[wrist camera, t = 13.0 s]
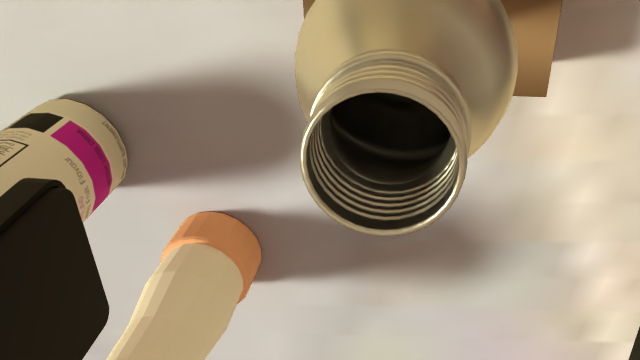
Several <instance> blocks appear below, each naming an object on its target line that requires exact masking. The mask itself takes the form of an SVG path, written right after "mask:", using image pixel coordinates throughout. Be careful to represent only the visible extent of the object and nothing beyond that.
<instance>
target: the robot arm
mask: <svg viewBox="0 0 640 360" xmlns="http://www.w3.org/2000/svg"><path fill="white" fill-rule="evenodd" d="M108 316H109V305H108V301H107V298H106V295H105V292H104V289H103V285H102V282H101V279H100V276H99V273H98V270H97V266H96V263H95V260H94V257H93V254H92V251H91V247H90V244H89V241H88V238H87V235H86V231H85V228H84V225H83V222H82V219H81V216H80V212H79V209H78V206H77V203H76V200H75V197H74V195H73V193H72V192H71V191H70V190H68V189H66V187H65V185H64V184H63V183H62V182H61V181H59V180H54V179H40V178H23V179H21V180H20V181H18V182H17V183H16V184H15V185H13V186H12V187H11V188H10V189H9V190H7V191H6V192H5V193H4V194H3V195H2V196H0V360H82V359H83V358H84V356H85V355H86V353H87V352H88V350H89V349H90V347H91V346H92V344H93V343H94V341H95V340H96V338H97V337H98V335H99V334H100V333H101V331H102V330H103V328H104V326H105V325H106V323H107V320H108ZM629 360H640V327H639V330H638V333H637V336H636V339H635V342H634V345H633V348H632V351H631V354H630V357H629Z"/></svg>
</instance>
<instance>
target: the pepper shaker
mask: <svg viewBox="0 0 640 360" xmlns="http://www.w3.org/2000/svg"><path fill="white" fill-rule="evenodd" d="M260 263H261V248H260V245H259V243H258V240H257V238H256V237H255V236H254V234H253V233H252V232H251V230H250V229H249V228H248V227H247V226H245V225H244V224H243V223H241V222H240V221H239V220H237V219H235V218H233V217H230V216H228V215H226V214H222V213H217V212H202V213H197V214H195V215H193V216H190V217H188V218H187V219H186V220H185V221H184V222H183V223H182V225H181V226H180V227H179V229H178V230H177V231H176V233H175V234H174V236H173V237H172V239H171V240H170V242H169V243H168V245H167V246H166V247H165V249H164V251H163V254H162V257H161V264H160V265H159V266H158V268H157V269H156V271H155V272H154V273H153V275H152V276H151V277H150V279H149V280H148V282H147V283H146V285H145V287H144V289H143V292H142V294H141V296H140V299H139V301H138V303H137V306H136V308H135V311H134V313H133V315H132V318H131V320H130V322H129V325H128V327H127V328H126V330H125V331H124V333H123V334H122V336H121V338H120V339H119V341H118V342H117V344H116V345H115V347H114V348H113V350H112V352H111V353H110V355H109V356H108V358H107V359H106V360H205V358H206V357H207V355H208V354H209V353H210V351H211V350H212V348H213V347H214V346H215V344H216V343H217V341H218V340H219V339H220V337H221V336H222V334H223V333H224V332H225V330H226V328H227V326H228V324H229V322H230V319H231V317H232V314H233V312H234V310H235V307H236V305H237V304H238V303H239V302H240V301H242V300H243V299H244V298H245V297H246V294H247V292H248V290H249V288H250V286H251V283H252V281H253V279H254V277H255V274H256V272H257V270H258V268H259V265H260Z"/></svg>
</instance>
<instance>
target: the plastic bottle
mask: <svg viewBox="0 0 640 360" xmlns="http://www.w3.org/2000/svg"><path fill="white" fill-rule="evenodd" d="M517 73H518V47H517V43H516V38H515V34H514V29H513V25H512V23H511V21H510V19H509V17H508V15H507V13H506V10H505V8H504V6H503V4H502V3H501V1H500V0H315V2H314V3H313V5H312V6H311V8H310V9H309V11H308V12H307V14H306V17H305V19H304V22H303V24H302V27H301V29H300V32H299V36H298V41H297V47H296V52H295V77H296V87H297V92H298V97H299V102H300V106H301V108H302V111H303V113H304V115H305V118H306V120H307V125H306V128H305V130H304V132H303V137H302V142H301V149H300V167H301V171H302V176H303V180H304V182H305V184H306V187H307V189H308V191H309V193H310V195H311V196H312V198H313V199H314V200H315V202H316V203H317V205H318V206H319V207H320V208H321V209H322V210H323V211H324V212H325V213H326V214H327V215H328V216H330V217H331V218H333V219H334V220H335V221H337V222H338V223H340V224H342V225H344V226H346V227H348V228H350V229H352V230H355V231H358V232H362V233H365V234H370V235H378V236H398V235H402V234H407V233H412V232H414V231H417V230H419V229H422V228H424V227H427V226H428V225H430V224H431V223H433V222H434V221H436V220H438V219H439V218H440V217H441V216H442V215H443V214H444V213H445V212H446V211H447V210H448V209H449V208H450V207H451V205H452V204H453V202H454V201H455V199H456V198H457V197H458V194H459V192H460V189H461V187H462V184H463V181H464V179H465V174H466V168H467V158H468V157H470V156H471V155H473V154H474V153H475V152H476V151H477V150H478V149H479V148H480V147H481V146H482V145H483V144H484V143H485V142H486V141H487V140H488V138H489V137H490V135H491V134H492V132H493V131H494V129H495V128H496V126H497V125H498V124H499V122H500V120H501V119H502V117H503V116H504V114H505V112H506V110H507V107H508V105H509V102H510V100H511V98H512V95H513V93H514V88H515V83H516V78H517Z"/></svg>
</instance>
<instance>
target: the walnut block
mask: <svg viewBox="0 0 640 360" xmlns="http://www.w3.org/2000/svg"><path fill="white" fill-rule="evenodd" d="M500 1H501V3H502V4H503V6H504V8H505V10H506V13H507V15H508V17H509V19H510V21H511V23H512V25H513V29H514V34H515V38H516V43H517V47H518V73H517V78H516V83H515V88H514V93H513V95H512V96H529V97H546V95H547V89H548V83H549V77H550V71H551V65H552V59H553V53H554V47H555V41H556V35H557V30H558V24H559V18H560V12H561V6H562V0H500ZM314 2H315V0H303V8H304V19H305V17H306V14H307V12H308V11H309V9H310V8H311V6H312V5H313V3H314Z"/></svg>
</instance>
